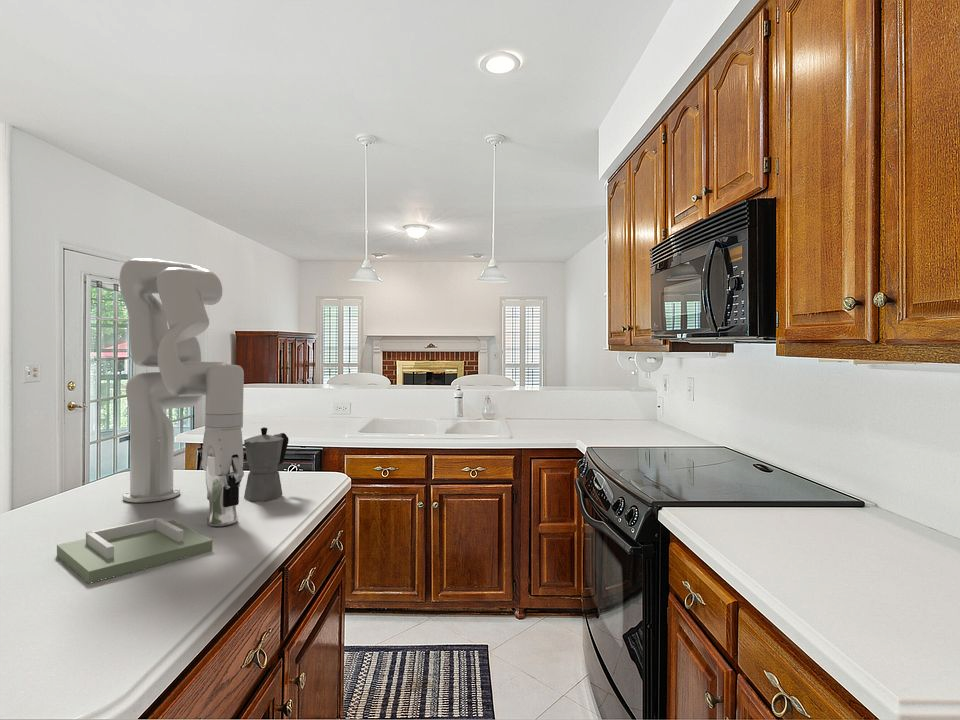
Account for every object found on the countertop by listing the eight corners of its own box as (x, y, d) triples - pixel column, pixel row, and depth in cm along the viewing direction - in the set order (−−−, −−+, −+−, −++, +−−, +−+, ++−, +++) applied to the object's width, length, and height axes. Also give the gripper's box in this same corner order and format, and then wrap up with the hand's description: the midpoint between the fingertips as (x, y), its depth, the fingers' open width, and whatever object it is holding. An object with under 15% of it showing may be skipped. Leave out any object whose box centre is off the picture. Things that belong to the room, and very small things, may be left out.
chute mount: (56, 555, 102) (56, 534, 102) (172, 529, 118) (172, 510, 118) (88, 583, 91) (88, 559, 91) (212, 550, 106) (212, 529, 106)
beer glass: (226, 528, 118) (227, 458, 118) (197, 525, 120) (198, 455, 119) (246, 518, 125) (247, 452, 125) (218, 515, 127) (220, 449, 126)
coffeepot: (259, 505, 136) (259, 432, 136) (229, 501, 140) (230, 429, 139) (301, 491, 150) (301, 424, 150) (273, 487, 154) (273, 422, 153)
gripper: (188, 418, 124) (187, 497, 125) (226, 427, 113) (224, 515, 114) (222, 415, 130) (220, 491, 131) (261, 424, 119) (259, 507, 120)
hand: (222, 501), depth 122 cm, fingers closed on beer glass, 6 cm apart
